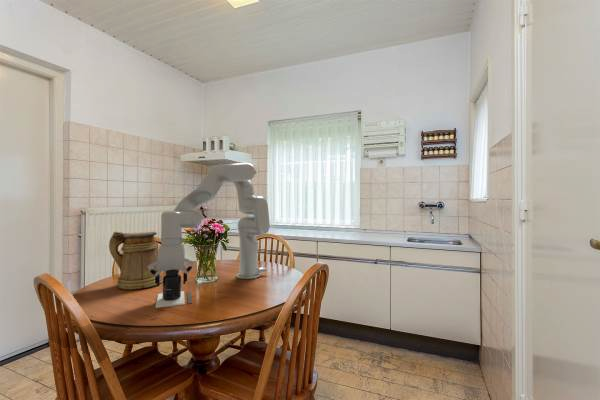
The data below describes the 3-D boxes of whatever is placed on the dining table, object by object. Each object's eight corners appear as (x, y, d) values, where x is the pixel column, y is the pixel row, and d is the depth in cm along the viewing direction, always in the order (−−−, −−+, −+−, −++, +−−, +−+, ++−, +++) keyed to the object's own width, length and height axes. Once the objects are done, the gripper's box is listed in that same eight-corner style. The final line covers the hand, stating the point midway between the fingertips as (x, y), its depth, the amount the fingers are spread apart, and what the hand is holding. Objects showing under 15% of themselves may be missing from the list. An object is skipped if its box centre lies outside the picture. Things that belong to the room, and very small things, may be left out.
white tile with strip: (190, 291, 129) (190, 290, 129) (192, 303, 114) (192, 302, 114) (158, 294, 124) (158, 293, 124) (155, 307, 109) (155, 306, 109)
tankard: (155, 289, 131) (156, 233, 131) (97, 291, 128) (98, 234, 128) (167, 278, 149) (167, 229, 149) (117, 280, 146) (117, 229, 146)
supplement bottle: (162, 302, 114) (163, 271, 114) (162, 296, 120) (162, 267, 120) (181, 299, 118) (182, 269, 118) (180, 294, 124) (180, 265, 124)
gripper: (193, 239, 126) (193, 279, 126) (148, 241, 119) (148, 284, 119) (194, 242, 119) (194, 284, 119) (146, 244, 112) (146, 289, 112)
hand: (171, 284), depth 119 cm, fingers open, 9 cm apart
